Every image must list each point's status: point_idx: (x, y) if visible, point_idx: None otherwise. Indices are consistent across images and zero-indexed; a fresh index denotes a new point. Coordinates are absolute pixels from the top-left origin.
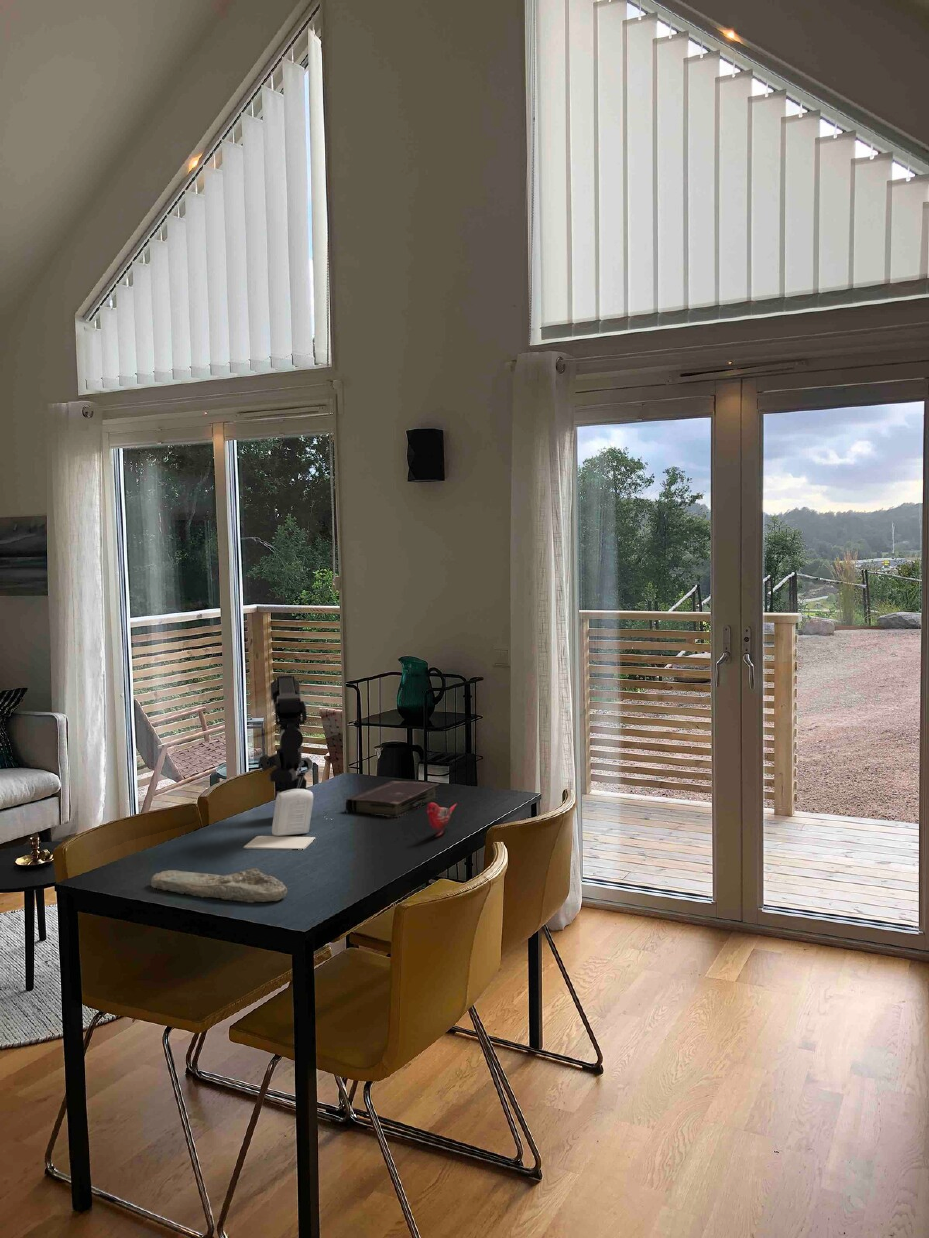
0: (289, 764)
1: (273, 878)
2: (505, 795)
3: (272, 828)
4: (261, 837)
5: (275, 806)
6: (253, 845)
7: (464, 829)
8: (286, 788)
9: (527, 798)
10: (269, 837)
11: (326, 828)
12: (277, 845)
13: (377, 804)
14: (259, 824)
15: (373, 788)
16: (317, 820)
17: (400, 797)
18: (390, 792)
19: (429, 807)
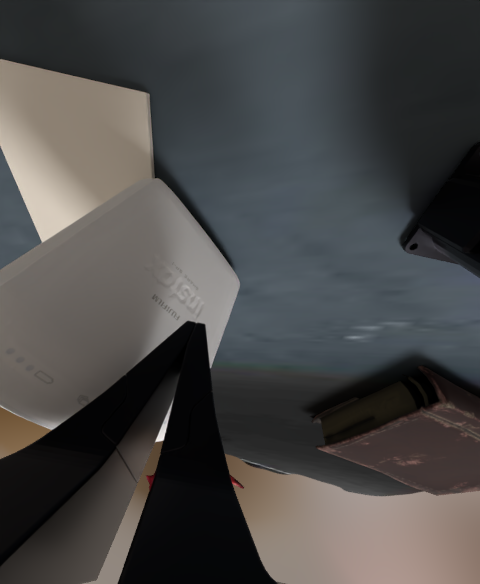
0: None
1: None
2: (381, 488)
3: (129, 187)
4: (126, 124)
5: (36, 248)
6: (5, 108)
7: (226, 448)
8: (111, 388)
9: (353, 491)
10: (133, 167)
11: (259, 326)
12: (52, 216)
13: (359, 427)
14: (420, 33)
15: None
16: (358, 307)
17: (367, 458)
18: (434, 457)
19: (149, 487)
